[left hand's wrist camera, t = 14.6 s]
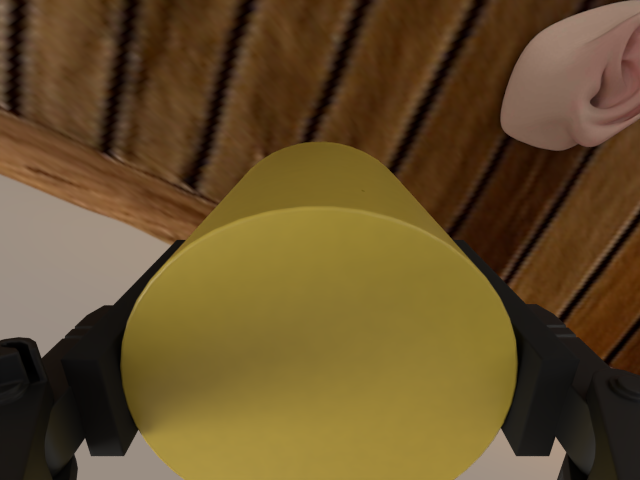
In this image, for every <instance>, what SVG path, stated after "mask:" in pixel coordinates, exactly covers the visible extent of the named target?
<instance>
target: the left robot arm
mask: <svg viewBox="0 0 640 480" xmlns="http://www.w3.org/2000/svg"><path fill="white" fill-rule="evenodd" d="M185 241H186V240H176V241H175V242H174V244H173V245H172V246H171V247H170V248H169V249H168V250H167V251H166V252H165V253H164V254H163V255H162V256H161V257H160V258H159V259H158V260H157V261H156V262H155V263H154V264H153V265H152V266H151V267H150V268H149V269H148V270H147V271H146V272H145V273H144V274H143V275H142V276H141V277H140V278H139V279H138V280H137V282H136V283H135V284H134V285H133V286H132V287H131V288H130V289H129V290H128V291H127V292H126V293H125V294H124V295H123V296H122V297H121V298H120V299H119V300H118V301H117V302H116V303H115V304H114V305H104V306H102V307H101V308H99V309H97V310H95V311H94V312H92V313H90V314H88V315H87V316H86V317H85V318H84V319H83V320H81V321H80V322H79V323H78V324H77V325H76V326H75V329H72V330H71V331H70V332H69V333H68V334H67V335H66V336H65V339H62V340H61V341H59V342H58V343H57V344H56V345H55V346H54V347H53V348H52V349H51V350H50V351H49V352H48V353H47V354H46V355H45V356H44V357H43V358H42V359H41V356H40V353H39V350H38V347H37V344H36V342H35V341H33V340H32V339H30V338H21V337H18V338H10V339H4V340H1V341H0V480H77V471H78V467H77V461H76V458H75V455H74V453H75V452H76V450H77V449H78V447H79V446H80V444H81V443H82V442H83V440H84V439H86V442H87V445H88V448H89V451H90V454H91V456H124V455H125V453H126V452H127V450H128V448H129V446H130V444H131V442H132V440H133V439H134V437H135V435H136V433H137V431H138V428H137V426H136V425H135V422H134V420H133V418H132V416H131V413H130V411H129V409H128V406H127V402H126V398H125V394H124V391H123V387H122V379H121V368H120V362H121V349H122V341H123V337H124V333H125V329H126V325H127V321H128V319H129V316H130V314H131V312H132V310H133V307H134V305H135V303H136V300H137V299H138V297H139V296H140V294H141V293H142V291H143V290H144V288H145V287H146V285H147V284H148V282H149V281H150V279H151V278H152V277H153V276H154V275H155V274H156V273H157V272H158V270H159V269H160V268H161V267H162V266H163V265H164V264H165V263H166V262H167V261H168V259H169V258H170V257H171V256H172V255H173V254H174V253H175V252H176V251H177V250H178V248H179V247H180V246H181V245H182V244H183V243H184V242H185ZM453 241H454V242H455V243H456V244H457V246H458V247H459V248H460V249H461V250H462V251H463V252H464V253H465V254H466V256H467V257H468V258H469V259H470V260H471V261H472V262H473V263H474V264H475V266H476V267H477V268H478V269H479V270H480V271H481V272H482V273H483V274H484V276H485V277H486V278H487V279H488V281H489V282H490V284H491V285H492V287H493V288H494V289H495V291H496V292H497V294H498V295H499V297H500V298H501V301H502V303H503V305H504V307H505V309H506V311H507V313H508V316H509V318H510V321H511V324H512V328H513V332H514V335H515V339H516V347H517V358H518V371H517V384H516V388H515V392H514V397H513V401H512V404H511V407H510V409H509V412H508V414H507V417H506V419H505V421H504V423H503V425H502V427H501V429H502V431H503V433H504V434H505V436H506V438H507V440H508V442H509V444H510V446H511V447H512V449H513V451H514V453H515V455H516V456H549V455H550V452H551V449H552V446H553V443H554V440H555V436H556V438H557V439H558V441H559V442H560V444H561V445H562V447H563V448H564V449H565V451H566V455H565V458H564V461H563V464H562V467H561V470H560V473H559V476H558V479H557V480H640V376H639V375H636V374H633V373H630V372H627V371H625V370H619V369H612V368H610V367H609V366H608V365H607V364H606V363H605V362H604V361H603V360H602V359H601V358H600V357H599V356H597V355H596V354H595V353H594V352H593V351H592V350H591V349H590V348H589V347H588V346H587V345H586V344H585V343H584V342H583V341H582V340H581V339H580V338H578V337H576V335H575V334H574V333H573V332H572V331H571V330H570V329H569V328H566V325H565V324H564V323H563V322H562V321H561V320H559V319H558V318H557V317H556V316H555V315H554V314H553V313H551V312H549V311H547V310H546V309H544V308H542V307H540V306H539V305H537V304H525V303H524V302H523V301H522V300H521V299H520V298H519V297H518V296H517V295H516V294H515V293H514V292H513V290H512V289H511V288H510V287H509V286H508V285H507V284H506V283H505V282H504V281H503V280H502V279H501V278H500V277H499V276H498V275H497V274H496V273H495V272H494V271H493V270H492V269H491V268H490V267H489V266H488V265H487V264H486V263H485V262H484V261H483V260H482V259H481V258H480V257H479V256H478V255H477V254H476V253H475V251H474V250H473V249H472V248H471V247H470V246H469V245H468V244H467V243H466V242H465V241H464V240H453Z"/></svg>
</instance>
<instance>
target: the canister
mask: <svg viewBox="0 0 640 480" xmlns="http://www.w3.org/2000/svg"><path fill="white" fill-rule="evenodd" d="M120 368H121V379H122V387H123V391H124V394H125V398H126V402H127V406H128V409H129V411H130V413H131V416H132V418H133V420H134V422H135V425H136V426H137V428H138V430H139V431H140V433H141V434H142V436H143V438H144V439H145V441H146V442H147V443H148V445H149V446H150V447H151V448H152V450H153V451H154V452H155V453H156V455H157V456H158V457H159V458H160V459H161V460H162V461H163V462H164V463H165V464H166V465H167V466H168V467H170V469H172V470H173V471H174V472H175V473H176V474H178V475H179V476H180V477H182V478H183V479H184V480H454V479H456V478H457V477H458V476H459V475H461V474H462V473H463V472H465V471H466V470H467V469H468V468H469V467H470V466H471V465H472V464H473V463H474V462H475V461H476V460H477V459H478V458H479V457H480V456H481V455H482V454H483V453H484V452H485V450H486V449H487V448H488V446H489V445H490V444H491V443H492V441H493V440H494V438H495V437H496V435H497V434H498V432H499V430H500V428H501V427H502V425H503V423H504V421H505V419H506V417H507V414H508V412H509V409H510V407H511V404H512V401H513V397H514V392H515V388H516V384H517V371H518V358H517V347H516V339H515V335H514V332H513V328H512V324H511V321H510V318H509V316H508V313H507V311H506V309H505V307H504V305H503V303H502V301H501V298H500V297H499V295H498V294H497V292H496V291H495V289H494V288H493V287H492V285H491V284H490V282H489V281H488V279H487V278H486V277H485V276H484V274H483V273H482V272H481V271H480V270H479V269H478V268H477V267H476V266H475V264H474V263H473V262H472V261H471V260H470V259H469V258H468V257H467V256H466V254H465V253H464V252H463V251H462V250H461V249H460V248H459V247H458V246H457V244H456V243H455V242H454V241H453V240H452V239H451V238H450V237H449V236H448V235H447V233H446V232H445V231H444V230H443V229H442V228H441V227H440V226H439V225H438V223H437V222H436V221H435V220H434V219H433V218H432V217H431V216H430V215H429V213H428V212H427V211H426V210H425V209H424V208H423V207H422V206H421V205H420V203H419V202H418V201H417V200H416V199H415V198H414V197H413V196H412V195H411V193H410V192H409V191H408V190H407V189H406V188H405V187H404V186H403V185H402V183H401V182H400V181H399V180H398V179H397V178H396V177H395V176H394V175H393V174H392V173H391V172H390V170H389V169H388V168H387V167H385V166H384V165H383V164H382V163H380V162H379V161H378V160H377V159H375V158H373V157H372V156H370V155H368V154H367V153H365V152H363V151H360V150H358V149H355V148H353V147H350V146H346V145H342V144H338V143H330V142H309V143H302V144H297V145H293V146H290V147H286V148H283V149H281V150H279V151H277V152H274V153H272V154H271V155H269V156H267V157H266V158H264V159H263V160H261V161H260V162H259V163H257V164H256V165H255V166H254V167H253V168H251V169H250V171H249V172H248V173H247V174H246V175H245V176H244V177H243V178H242V179H241V180H240V182H239V183H238V184H237V185H236V186H235V187H234V188H233V189H232V190H231V191H230V192H229V194H228V195H227V196H226V197H225V198H224V199H223V200H222V201H221V202H220V203H219V205H218V206H217V207H216V208H215V209H214V210H213V211H212V212H211V213H210V214H209V216H208V217H207V218H206V219H205V220H204V221H203V222H202V223H201V224H200V225H199V227H198V228H197V229H196V230H195V231H194V232H193V233H192V234H191V235H190V236H189V237H188V239H187V240H186V241H185V242H184V243H183V244H182V245H181V246H180V247H179V248H178V250H177V251H176V252H175V253H174V254H173V255H172V256H171V257H170V258H169V259H168V261H167V262H166V263H165V264H164V265H163V266H162V267H161V268H160V269H159V270H158V272H157V273H156V274H155V275H154V276H153V277H152V278H151V279H150V281H149V282H148V284H147V285H146V287H145V288H144V290H143V291H142V293H141V294H140V296H139V297H138V299H137V300H136V303H135V305H134V307H133V310H132V312H131V314H130V316H129V319H128V321H127V325H126V329H125V333H124V337H123V341H122V349H121V362H120Z"/></svg>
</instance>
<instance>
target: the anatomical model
mask: <svg viewBox="0 0 640 480" xmlns="http://www.w3.org/2000/svg"><path fill="white" fill-rule="evenodd" d="M638 119H640V0H631V1H623V2H618V3H613V4H609V5H605V6H601V7H598V8H595V9H592V10H588V11H585V12H582V13H579V14H576V15H574V16H571V17H569V18H566V19H564V20H561V21H559V22H557V23H555V24H553V25H551V26H549V27H548V28H546V29H544V30H543V31H541V32H540V33H539V34H538V35H536V36H535V37H534V38H533V39H532V40H531V41H530V43H529V44H528V45H527V46H526V48H525V49H524V51H523V52H522V54H521V56H520V57H519V59H518V61H517V63H516V65H515V67H514V70H513V72H512V74H511V77H510V80H509V83H508V86H507V89H506V92H505V96H504V99H503V104H502V109H501V126H502V128H503V130H504V131H505V132H506V133H507V134H508V135H509V136H511V137H513V138H515V139H517V140H519V141H522V142H524V143H527V144H529V145H532V146H535V147H538V148H543V149H549V150H556V151H560V150H565V149H568V148H571V147H573V146H575V145H577V144H580V145H582V146H585V147H593V146H597V145H599V144H601V143H603V142H604V141H606V140H608V139H609V138H611V137H612V136H614V135H615V134H617V133H618V132H620V131H621V130H623V129H625V128H626V127H628V126H629V125H631V124H632V123H634V122H635V121H637V120H638Z"/></svg>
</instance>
